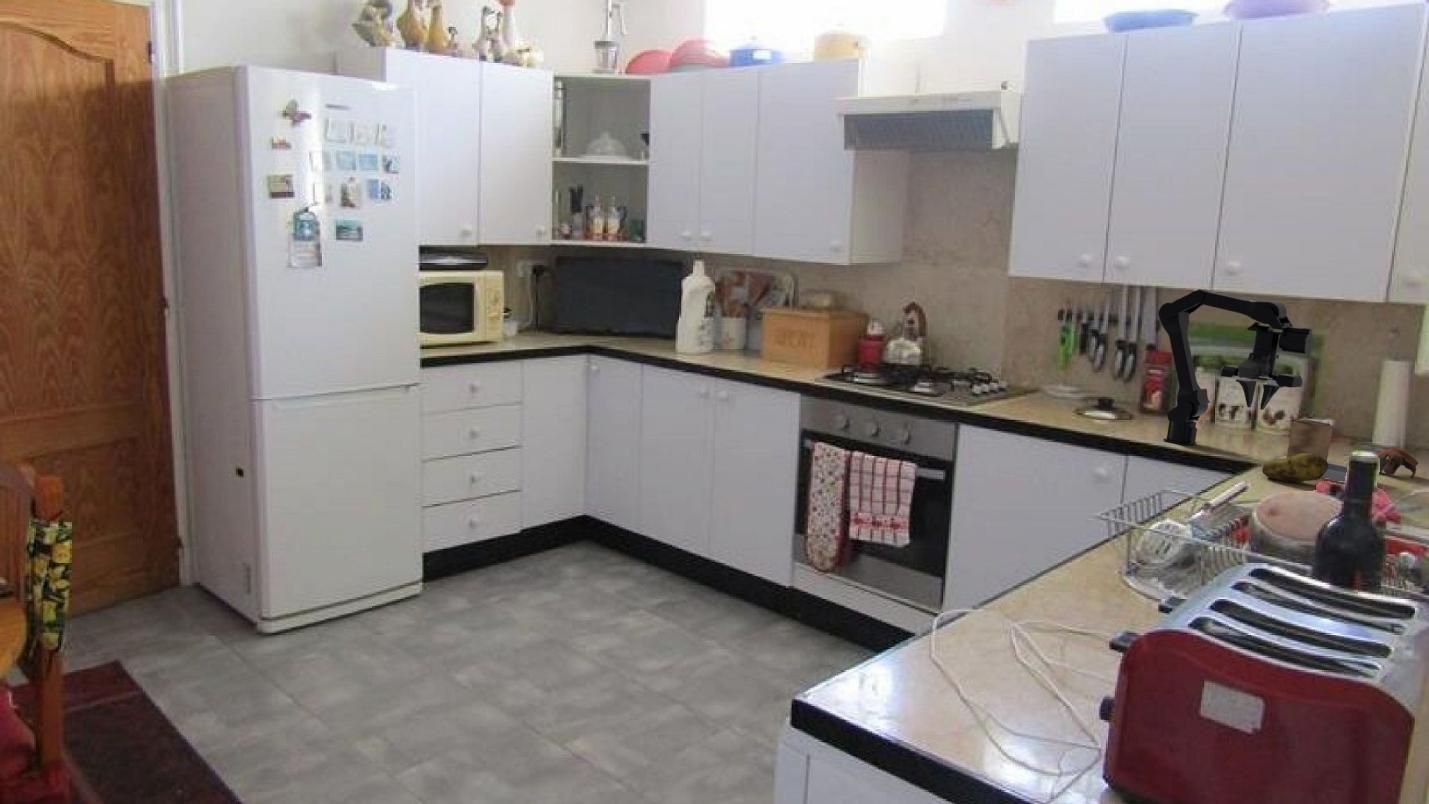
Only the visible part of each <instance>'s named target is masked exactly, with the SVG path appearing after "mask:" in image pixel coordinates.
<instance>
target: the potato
mask: <svg viewBox="0 0 1429 804" xmlns="http://www.w3.org/2000/svg"><path fill="white" fill-rule="evenodd" d="M1328 462H1329V461H1328V460H1327V461H1326V460H1325V459H1324V458H1323V457H1321V456H1320V455H1317V454H1315V453H1301V454H1297V455H1294V456H1291V457H1289V458H1287V457H1285V458H1280V459H1277V460H1274V459H1272V460H1269V461H1266V462H1264V464H1263V466H1262V469H1261V471H1262V473H1263V475H1264V476H1265V477H1267V478H1268V479H1271V480H1277V481H1281V482H1286V481H1288V482H1287V483H1293V482H1296V483H1303V482H1308V481H1319V480H1321V479H1322V478H1321V477H1322V476H1323V475H1324V473H1325V472H1326V471H1327V469H1328Z"/></svg>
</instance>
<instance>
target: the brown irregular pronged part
mask: <svg viewBox="0 0 1429 804" xmlns="http://www.w3.org/2000/svg"><path fill="white" fill-rule="evenodd" d="M1377 455H1378V457H1379V458H1380V472H1379V474H1378V475H1379V476H1380V475H1381V474H1382V472H1384V473H1385V474H1386V475H1391V476H1393V475H1395V473H1396V472H1397V470H1398V469H1399V468H1400V467H1401V466H1404V468H1406V469H1407V470H1409V471H1410V472H1411V473H1412V474H1411V476H1410V479H1413V478H1414V477H1415V475H1416V472H1417V466H1418V465H1419V461H1418V460H1417V459H1415V457H1413V456H1412V455H1410V454H1409V453H1407V452H1405V451H1404V450H1403V449H1401V448H1398V447H1396V446H1389V448H1388V449H1385V450H1384V449H1383V450H1382V451H1380V452H1378V453H1377Z"/></svg>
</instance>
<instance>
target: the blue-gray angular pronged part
mask: <svg viewBox="0 0 1429 804" xmlns="http://www.w3.org/2000/svg"><path fill="white" fill-rule="evenodd" d="M1277 459H1281V458H1279V457H1274V458H1273V460H1277ZM1327 462H1328V469H1327V471H1326V472H1325V473H1324V475H1323V476H1322V477H1321V478H1320V479H1322V478H1329V479H1331V480H1333V481H1332V482H1335V481H1343V482H1344V481H1345V476H1346V472H1347V467H1348V465H1343V464H1339V463H1333V462H1329V461H1327Z"/></svg>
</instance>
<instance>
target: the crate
mask: <svg viewBox="0 0 1429 804" xmlns="http://www.w3.org/2000/svg"><path fill="white" fill-rule="evenodd" d="M1333 427H1334V425H1331V423H1326V422H1322V421H1315V420H1311V419H1308V418H1307V419H1306V418H1304V419H1296V420H1295V421H1292V424H1291V430H1290V434H1289V435H1290V436H1289V441H1288V442H1289V443H1288V447H1287V454H1286V458H1289V457H1291V456H1294V455H1297V454H1301V453H1315V454H1317V455H1320V456H1321V457H1323V458H1324V459H1325V460H1326V461H1327V462H1328V456H1329V452H1330V451H1329V450H1330V445H1331V440H1332V434H1333V429H1334V428H1333Z"/></svg>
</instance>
